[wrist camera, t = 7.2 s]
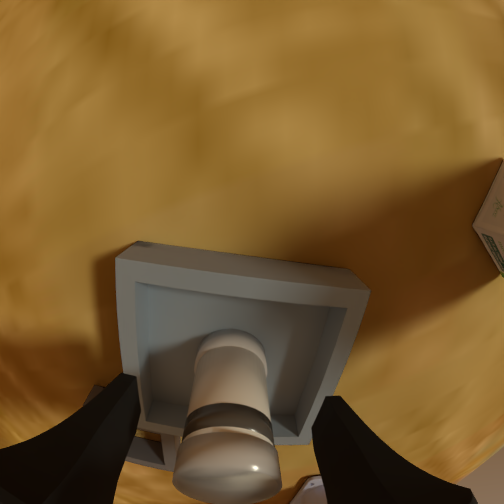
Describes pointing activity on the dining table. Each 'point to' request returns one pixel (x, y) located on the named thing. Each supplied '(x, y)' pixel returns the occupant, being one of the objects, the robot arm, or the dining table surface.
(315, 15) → the dining table surface
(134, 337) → the parts tray
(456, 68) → the dining table surface
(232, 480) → the cylinder
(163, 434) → the fuse socket
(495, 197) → the syrup box
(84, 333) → the dining table surface
